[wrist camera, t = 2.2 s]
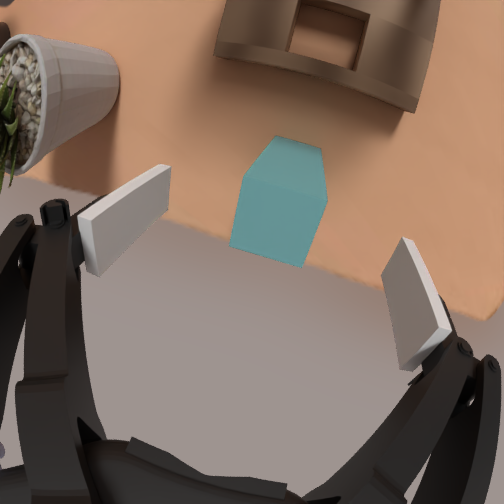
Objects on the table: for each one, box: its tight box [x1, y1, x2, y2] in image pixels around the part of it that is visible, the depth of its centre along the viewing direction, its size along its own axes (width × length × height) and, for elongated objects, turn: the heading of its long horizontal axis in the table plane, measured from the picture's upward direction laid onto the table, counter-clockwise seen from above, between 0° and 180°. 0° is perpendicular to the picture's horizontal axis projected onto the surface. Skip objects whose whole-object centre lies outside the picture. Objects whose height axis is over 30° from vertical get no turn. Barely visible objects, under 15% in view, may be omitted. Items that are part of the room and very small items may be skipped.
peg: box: [229, 136, 328, 268], centre depth 18 cm, size 4×4×12 cm
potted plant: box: [0, 34, 119, 192], centre depth 14 cm, size 13×14×20 cm
